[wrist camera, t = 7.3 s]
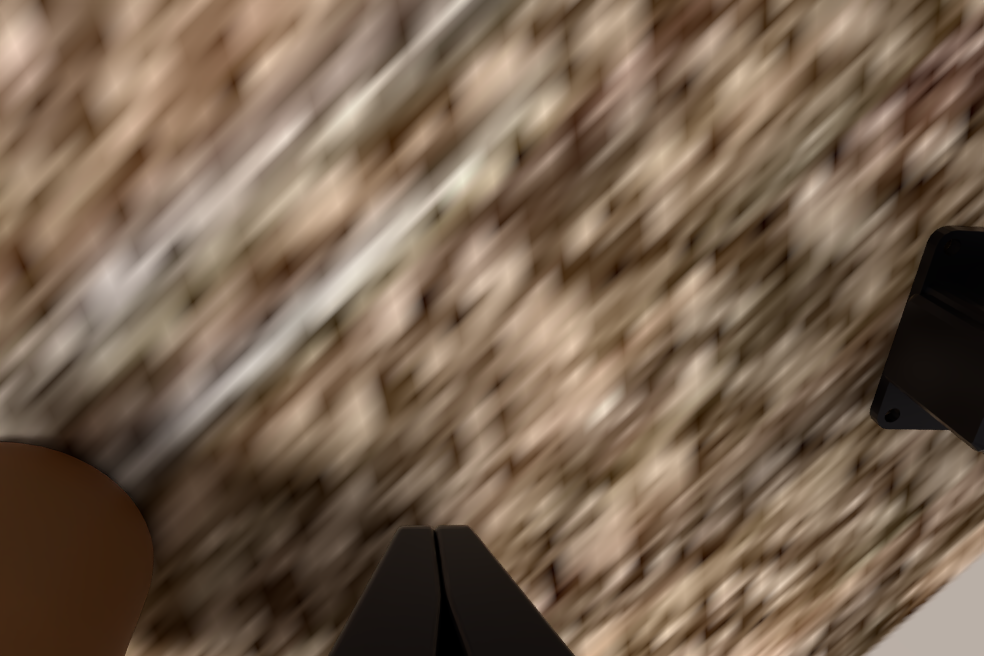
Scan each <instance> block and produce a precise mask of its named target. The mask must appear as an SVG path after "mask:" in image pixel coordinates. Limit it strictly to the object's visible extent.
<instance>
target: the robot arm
mask: <svg viewBox="0 0 984 656" xmlns="http://www.w3.org/2000/svg"><path fill="white" fill-rule="evenodd" d="M951 239H952V240H951ZM949 240H951V244H950V246H949V247H948V248H947V249H946V250H944V246H945V245H946V243H947V242H948V241H949ZM890 409H892V410H891V412H890V413H889V414H887V415H885V414H886V413H887V412H888V411H889V410H890ZM870 416H871V418H872V419H873V420H874V421H875V422H876V423H877V424H878V425H879V426H881V427H882V428H884V429H917V430H950V431H951V432H953V433H954V434H955V435H956V436H957V437H959V438H960V439H961V440H962V441H964V442H965V443H966V444H967V445H969V446H970V447H971V448H972V449H974V450H976V451H981V452H982V453H983V454H984V228H977V227H959V226H945V227H941V228H939V229H937V230H936V231H935V232H934V233H933V234H932V235H931V236H930V238H929V240H928V242H927V244H926V247H925V250H924V253H923V256H922V259H921V262H920V265H919V268H918V271H917V274H916V277H915V279H914V282H913V285H912V288H911V291H910V294H909V297H908V300H907V303H906V306H905V309H904V312H903V315H902V318H901V321H900V323H899V326H898V329H897V332H896V335H895V338H894V341H893V344H892V347H891V350H890V353H889V356H888V359H887V362H886V364H885V367H884V370H883V373H882V376H881V379H880V382H879V385H878V388H877V391H876V394H875V397H874V400H873V403H872V405H871V408H870ZM328 656H575V655H574V654H573V653H572V652H571V650H570V649H569V648H568V647H567V646H566V644H565V643H564V642H563V641H562V639H561V638H560V637H559V636H558V634H557V633H556V632H555V631H554V629H553V628H552V627H551V626H550V625H549V623H548V622H547V621H546V620H545V618H544V617H543V616H542V615H541V613H540V612H539V611H538V610H537V609H536V607H535V606H534V605H533V604H532V602H531V601H530V600H529V599H528V597H527V596H526V595H525V594H524V592H523V591H522V590H521V589H520V588H519V586H518V585H517V584H516V583H515V581H514V580H513V579H512V578H511V576H510V575H509V574H508V573H507V571H506V570H505V569H504V568H503V567H502V565H501V564H500V563H499V562H498V560H497V559H496V558H495V557H494V555H493V554H492V553H491V552H490V551H489V549H488V548H487V547H486V546H485V544H484V543H483V542H482V541H481V539H480V538H479V537H478V536H477V534H476V533H475V532H474V531H473V530H472V528H470V527H469V526H466V525H440V526H438V527H436V529H435V531H434V530H433V528H432V527H431V526H428V525H426V526H401V527H399V528H398V529H397V531H396V532H395V534H394V536H393V538H392V540H391V542H390V543H389V545H388V547H387V549H386V551H385V553H384V554H383V556H382V558H381V560H380V562H379V563H378V565H377V567H376V569H375V571H374V573H373V574H372V576H371V578H370V580H369V582H368V584H367V585H366V587H365V589H364V591H363V593H362V595H361V596H360V598H359V600H358V602H357V604H356V606H355V607H354V609H353V611H352V613H351V615H350V617H349V618H348V620H347V622H346V624H345V626H344V628H343V629H342V631H341V633H340V635H339V637H338V639H337V640H336V642H335V644H334V646H333V648H332V650H331V651H330V653H329V655H328Z"/></svg>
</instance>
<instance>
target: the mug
mask: <svg viewBox="0 0 984 656" xmlns="http://www.w3.org/2000/svg"><path fill="white" fill-rule="evenodd" d="M153 564H154V550H153V544H152V539H151V535H150V533H149V530H148V527H147V524H146V522H145V520H144V518H143V517H142V515H141V513H140V511H139V509H138V508H137V506H136V505H135V503H134V502H133V501H132V499H131V498H130V497H129V496H128V495H127V493H126V492H125V491H124V490H123V489H122V488H121V487H120V486H119V485H118V484H116V483H115V482H114V481H113V480H112V479H110V478H109V477H108V476H107V475H105V474H104V473H102V472H101V471H99V470H97V469H96V468H94V467H93V466H91V465H89V464H87V463H85V462H83V461H81V460H79V459H77V458H75V457H72V456H70V455H67V454H65V453H62V452H59V451H56V450H52V449H49V448H45V447H41V446H36V445H30V444H24V443H11V442H0V656H125V653H126V651H127V648H128V645H129V643H130V640H131V638H132V635H133V632H134V630H135V627H136V625H137V622H138V620H139V617H140V614H141V611H142V609H143V606H144V603H145V600H146V598H147V595H148V591H149V588H150V584H151V579H152V573H153Z"/></svg>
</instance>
